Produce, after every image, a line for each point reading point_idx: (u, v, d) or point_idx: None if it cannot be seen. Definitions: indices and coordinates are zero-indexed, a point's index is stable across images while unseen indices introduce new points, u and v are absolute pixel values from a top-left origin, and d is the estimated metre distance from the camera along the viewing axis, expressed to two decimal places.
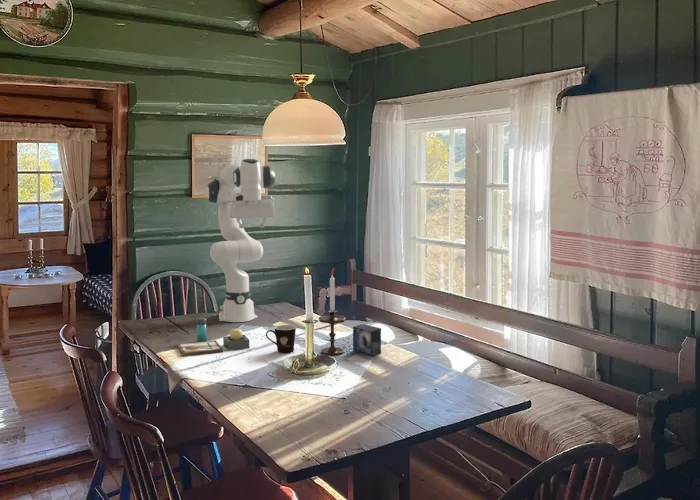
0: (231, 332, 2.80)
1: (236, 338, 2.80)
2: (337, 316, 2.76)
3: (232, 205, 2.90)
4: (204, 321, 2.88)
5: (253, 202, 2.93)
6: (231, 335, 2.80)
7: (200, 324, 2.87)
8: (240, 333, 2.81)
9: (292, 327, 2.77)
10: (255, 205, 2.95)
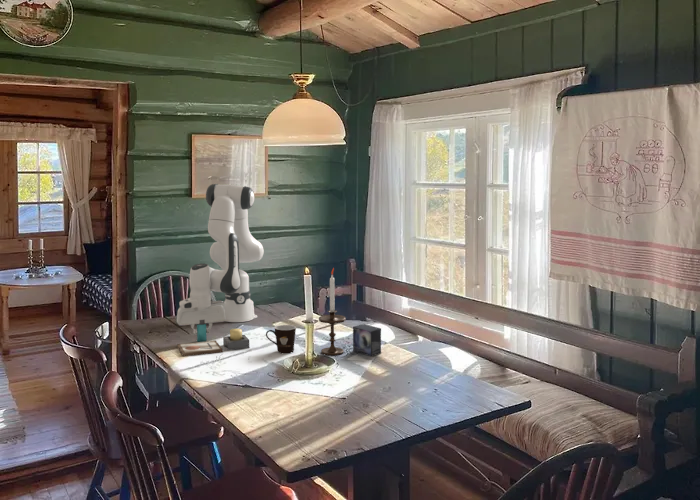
0: (231, 332, 2.80)
1: (236, 338, 2.80)
2: (337, 316, 2.76)
3: (180, 313, 2.83)
4: (204, 321, 2.88)
5: (202, 309, 2.86)
6: (231, 335, 2.80)
7: (200, 324, 2.87)
8: (240, 333, 2.81)
9: (292, 327, 2.77)
10: (205, 311, 2.88)
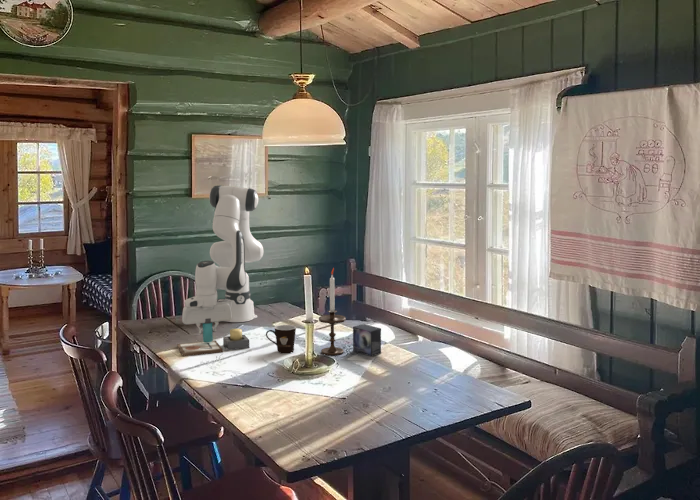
0: (231, 332, 2.80)
1: (236, 338, 2.80)
2: (337, 316, 2.76)
3: (186, 311, 2.76)
4: (210, 320, 2.81)
5: (208, 307, 2.78)
6: (231, 335, 2.80)
7: (206, 323, 2.80)
8: (240, 333, 2.81)
9: (292, 327, 2.77)
10: (211, 309, 2.80)
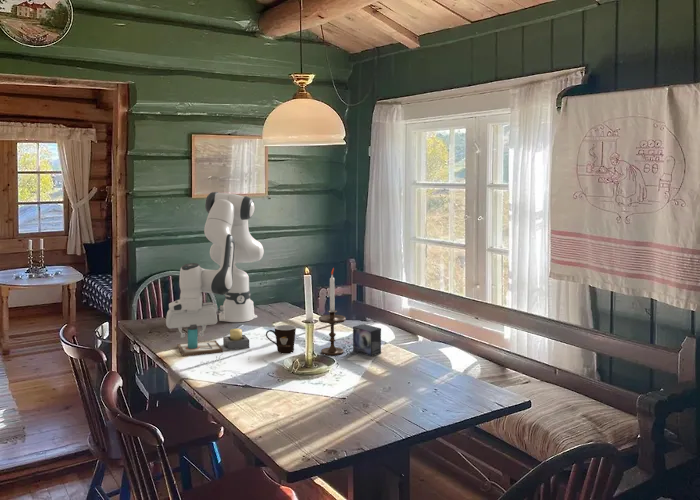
0: (231, 332, 2.80)
1: (236, 338, 2.80)
2: (337, 316, 2.76)
3: (170, 315, 2.69)
4: (195, 326, 2.73)
5: (193, 311, 2.71)
6: (231, 335, 2.80)
7: (191, 329, 2.73)
8: (240, 333, 2.81)
9: (292, 327, 2.77)
10: (195, 313, 2.73)
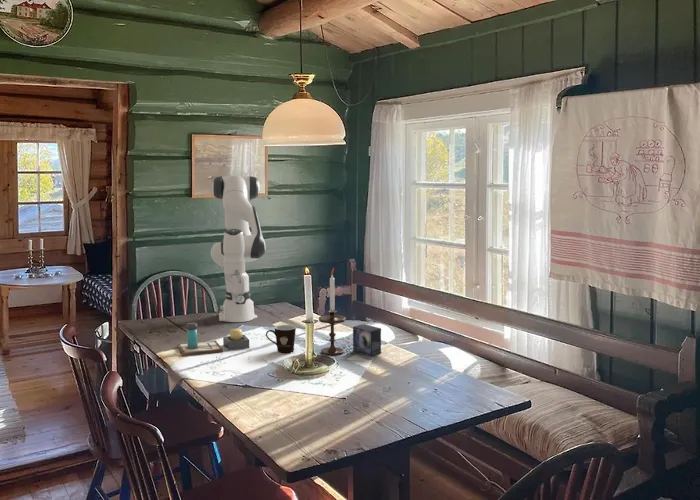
0: (231, 332, 2.80)
1: (236, 338, 2.80)
2: (337, 316, 2.76)
3: (224, 274, 2.86)
4: (195, 326, 2.73)
5: (227, 275, 2.78)
6: (231, 335, 2.80)
7: (191, 329, 2.73)
8: (240, 333, 2.81)
9: (292, 327, 2.77)
10: (231, 278, 2.77)
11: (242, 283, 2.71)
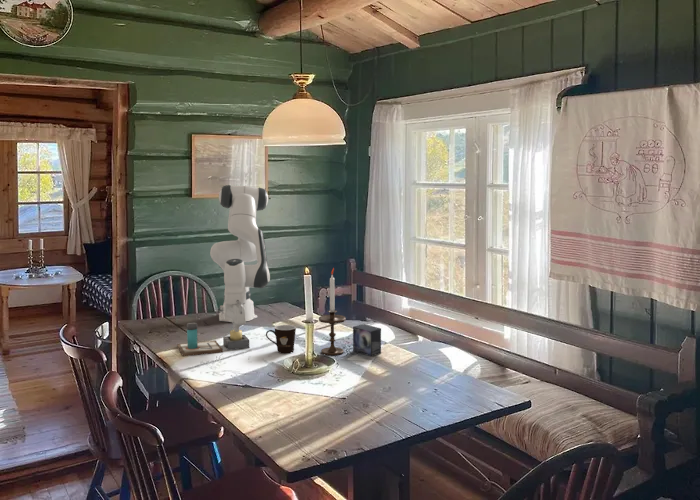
0: (231, 333, 2.80)
1: (236, 339, 2.80)
2: (337, 316, 2.76)
3: (225, 303, 2.88)
4: (195, 326, 2.73)
5: (228, 305, 2.79)
6: (231, 336, 2.80)
7: (191, 329, 2.73)
8: (240, 334, 2.81)
9: (292, 327, 2.77)
10: (232, 308, 2.79)
11: (243, 313, 2.72)
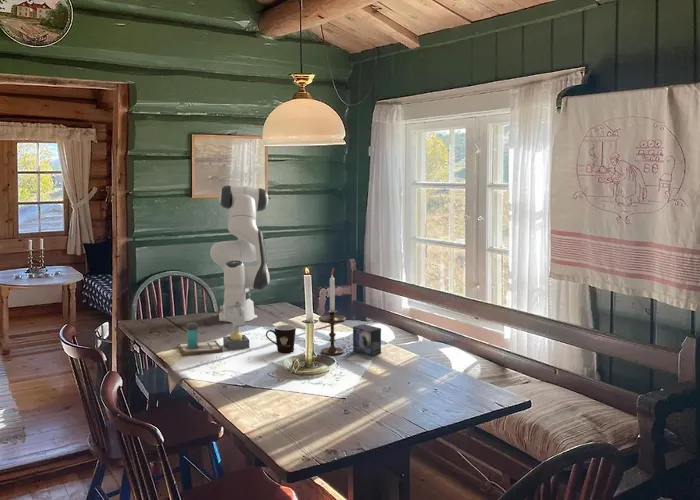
0: (231, 335, 2.80)
1: None
2: (337, 316, 2.76)
3: (225, 304, 2.88)
4: (195, 326, 2.73)
5: (227, 306, 2.80)
6: (231, 338, 2.81)
7: (191, 329, 2.73)
8: (240, 336, 2.81)
9: (292, 327, 2.77)
10: (232, 310, 2.79)
11: (242, 315, 2.73)
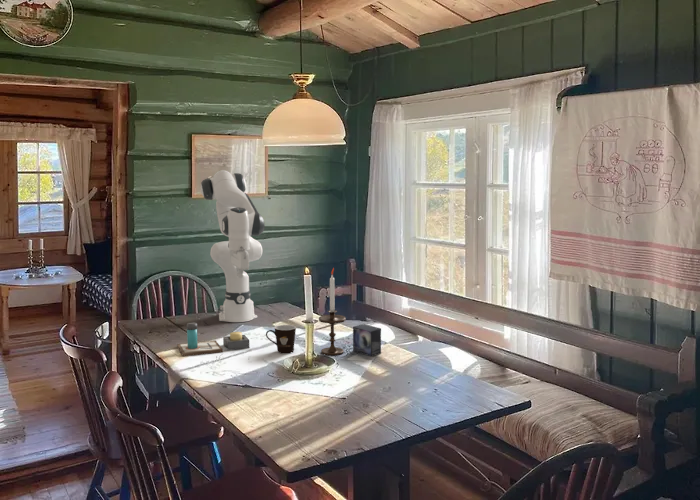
0: (231, 335, 2.80)
1: None
2: (337, 316, 2.76)
3: (229, 251, 2.98)
4: (195, 326, 2.73)
5: (232, 251, 2.89)
6: (231, 338, 2.81)
7: (191, 329, 2.73)
8: (240, 336, 2.81)
9: (292, 327, 2.77)
10: (236, 255, 2.89)
11: (247, 259, 2.82)
